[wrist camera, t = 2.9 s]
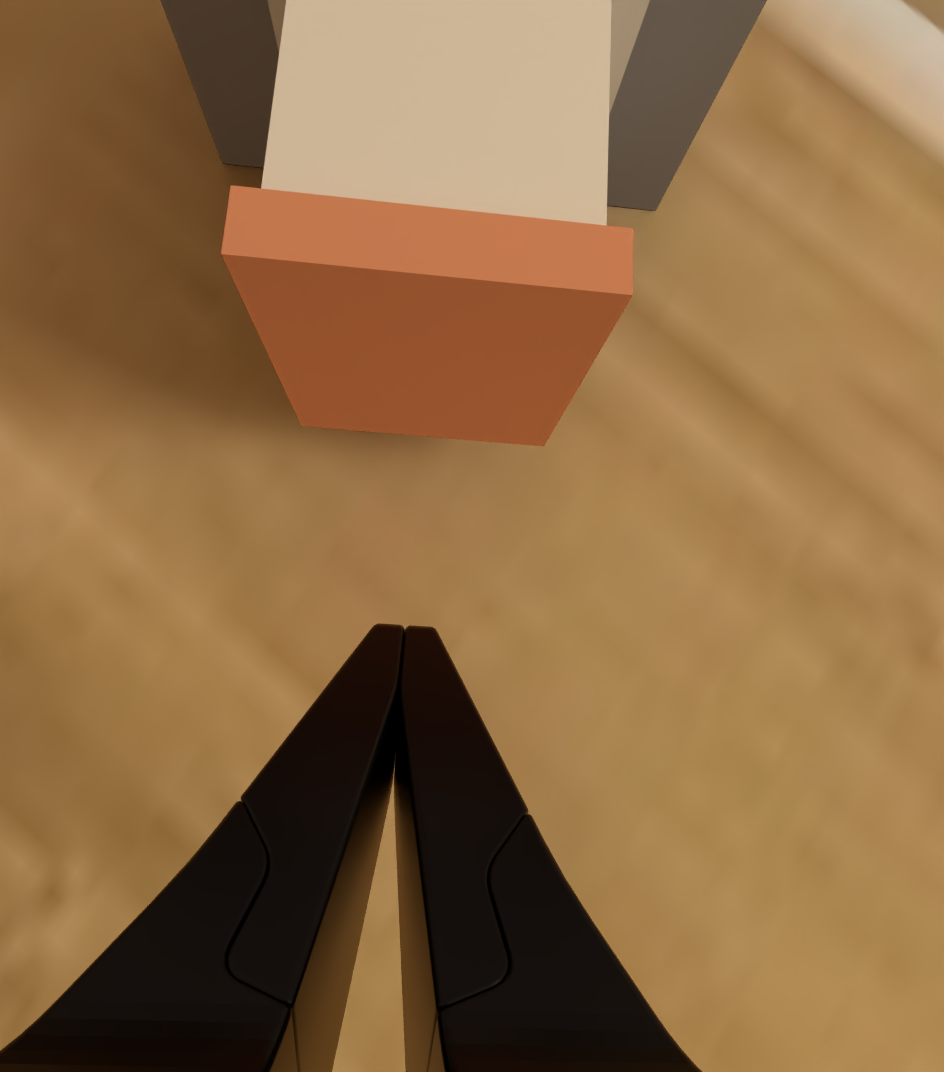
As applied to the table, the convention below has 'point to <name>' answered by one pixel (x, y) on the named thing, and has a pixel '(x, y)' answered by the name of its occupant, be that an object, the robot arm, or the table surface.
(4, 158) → the table surface
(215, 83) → the box
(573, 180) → the plunger
